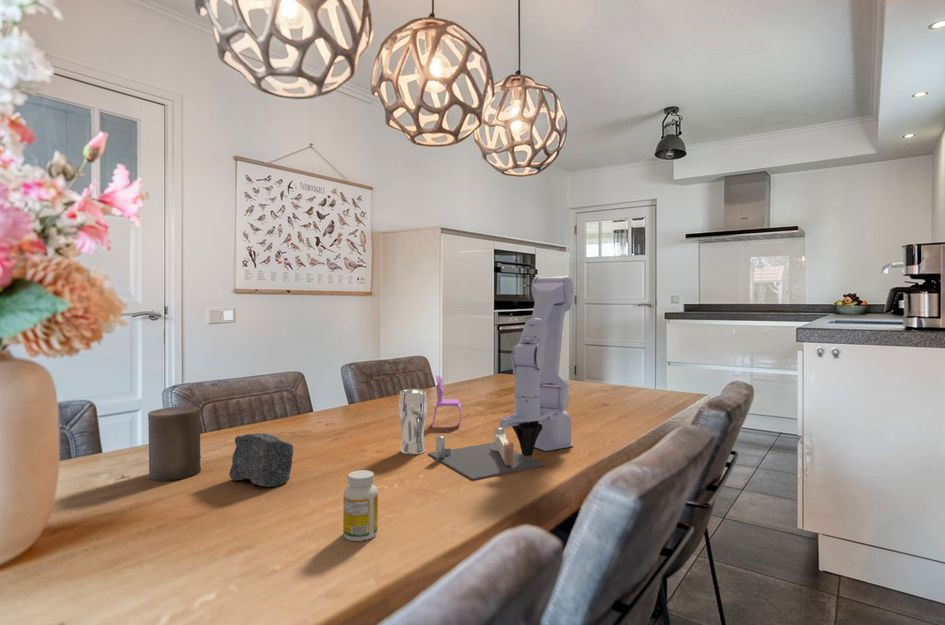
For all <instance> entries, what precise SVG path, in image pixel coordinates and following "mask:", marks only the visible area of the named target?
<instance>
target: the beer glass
mask: <svg viewBox="0 0 945 625" xmlns="http://www.w3.org/2000/svg"><path fill="white" fill-rule="evenodd" d="M398 398H399V399H398V401H399V402H398V416H399V417H398V418H399V424H400V428H401V437H402V438H401V444H400V453H401V454H403V455H408V454H409V456H413V455H415V454H416V455H420V454H424V453H425V452H426V445H425V437H424V436H425V428H426V422H427V417H428V416H427V414H428V397H427V390H426V389H421V388H408V389H407V388H406V389H402V390H399V397H398Z"/></svg>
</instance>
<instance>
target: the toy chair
mask: <svg viewBox="0 0 945 625" xmlns="http://www.w3.org/2000/svg"><path fill="white" fill-rule="evenodd" d="M435 378H436V382H437V384H436V385H435V388H436V394H437V396H436V397H437V402H436V405H435V408H434V413H433V418H432V419H433V420H432V422H431V427H434V424H435V422H436V421H435V420H436V415H437V409H438V407H446V406H447V407H457V408H458V410H459V421H458V425H457V428H458V429H460V425H461V422H462V421H461V419H462V405H461V402H460V398H459V399H458V398H455V399H454V398H453V399H449V398H448V399H446V398H443V395H444V391H445V388H444V384H443V379H442V377H441V376H440V375H436V376H435Z"/></svg>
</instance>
